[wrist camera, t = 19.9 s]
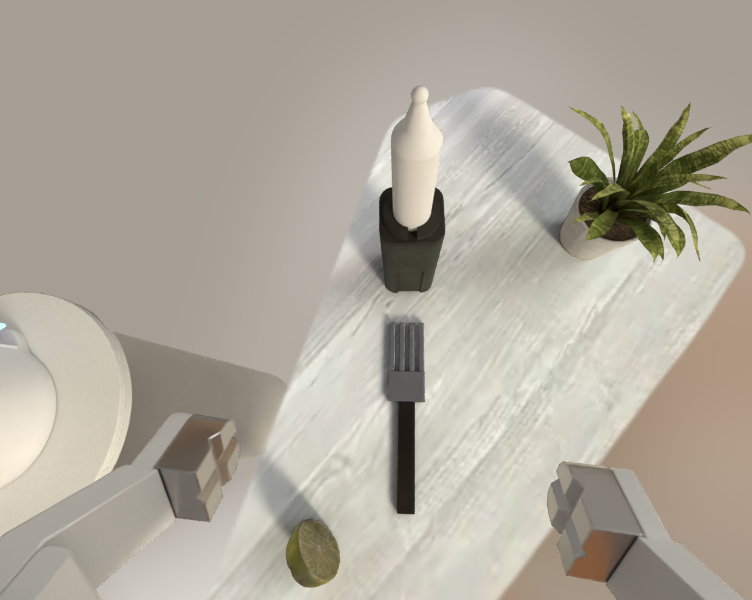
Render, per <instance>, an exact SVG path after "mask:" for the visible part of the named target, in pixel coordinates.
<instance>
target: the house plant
mask: <svg viewBox="0 0 752 600" xmlns="http://www.w3.org/2000/svg"><path fill="white" fill-rule="evenodd" d="M621 107H622V106H621ZM571 109H573V108H571ZM573 110H574V111H576V112H577V113H579V114H580V115H582V116H583V117H585V118H586V119H588V120H589V121H590V122H591V123H593V124H594V125H595V126H596V127H597V129H598V130H599V131H600V132H601V134H602V135H603V137H604V139H605V141H606V144H607V147H608V152H609V156H610V160H611V164H612V170H613V177H606V175H605V174H604V173H603V172H602V171H601V170H600V169H599V167H598V166H597V165H596V163H595V162H594V161H593V160H592V159H591V158H589V157H580V158H576V159H574V160H571V161H569V163H570V166H571V169H572V172H573V173H574V174H575V175H576V176H578V177H579V178H581V179H583V180H585V182H583V183H582V184H581V185H585V184H587V185H585V186H584V187H583V188H582V189H581V191H580V192H579V194H578V196H577V198H576V200H575V202H574V204H573V206H572V208H571V210H570V212H569V214H568V216H567V218H566V220H565V222H564V224H563V226H562V228H561V231H560V241H561V243H562V246H563V247H564V248H565V250H566V251H567V252H568V253H570V254H571V255H573V256H574V257H576V258H580V259H593V258H597V257H599V256H601V255H604V254H606V253H609V252H611V251H613V250H616V249H618V248H620V247H623V246H625V245H628V244H630V243H632V242H634V241H636V240H638V239H639V240H640V242H641V243H642V244H643V245H644V247H645V248H646V249H647V250H648V251H649V252H650V253H651V255H652V257H653V258H654V261H655V259H656V257H657V256H658V254H659V255H660V256H661V258H662V259H663V258H664V248H663V243H662V239H661V236H660V235H659V234H658V232H657V231H656V230H655V229H653V228H652V227H651V225H652V222H653V221H655V222H657V224H658V225H659V227H660V230H661V234H662V235H663V237H664V240H665V236H666V235H667V237H668V239H669V241H670V243H671V244H672V246H673V248H674V249H675V250H676V252H677V258H678V256H679V255H680V253H681V252H682V250H683V248H684V247H685V235H684V233H683V231H682V230H681V229H680V227H679V226H678V225H677V224H676V223H675V222H674V220H673V219H672V217H671V216H670V215H669V214H668V213H675V214H677V215H679V216H681V217H683V218H684V219H685V220H686V221H687V222H688V224H689V225H690V229H691V233H692V237H693V241H694V245H695V249H696V252H697V255H698V258H699V260H700V257H699V250H698V236H697V232H696V229H695V226H694V223H693V221H692V220H691V218H690V216H689V215H688V214H687V213H686V212H685V211H684V210H683V209H682V208H681V207H679V206H678V205H677V204H684V205H690V206H705V205H718V206H722V207H726V208H729V209H733V210H740V211H745V212H748V210H747V209H746V208H744V207H743V206H742V205H740V204H739V203H737V202H736V201H734V200H732V199H729V198H726V197H724V196H720V195H717V194H710V193H701V192H693V191H675V192H670V193H666V194H663V193H665V192H668V191H671V190H673V189H676V188H679V187H681V186H683V185H685V184H687V183H688V182H692V183H694V184H697V185H700V186H702V187H705V186H703V185H701V184H699V183H697V182H695V181H711V180H717V179H722V178H724V177H720V176H712V175H705V174H691V173H694V172H696V171H698V170H701V169H703V168H706V167H708V166H711V165H713V164H715V163H718V162H719V161H721V160H722V159H723V158H725V157H726V156H727V155H728V154H730V153H731V152H732V151H734V150H735V149H737V148H739V147H742V146H744V145H746V144H749V143H751V142H752V134H751V135H744V136H737V137H734V138H731V139H728V140H724V141H721V142H718V143H715V144H713V145H710V146H708V147H706V148H703V149H701V150H698V151H696V152H693V153H690V154H687V155H685V156H683V157H680V158H678V159H676V160H674V161H672V160H673V158H674V157H675V156H676V155H677V154H678V153H679V152H680V151H681V150H682V149H683V148H684V147H685V146H686V145H688V144H689V143H690V142H692V141H693V140H694V139H696V138H697V137H699V136H700V135H701V134H702V133H703V132H704V131H706V130H707V129H708V128H706V129H703V130H701V131H699V132H696V133H694V134H692V135H690V136H688V137H687V138H685V139H684V140H682V141H681V142H679V143H678V144H677V145H675V144H676V142H677V141H678V139H679V138H680V136H681V134H682V132H683V129H684V127H685V125H686V123H687V120H688V116H689V110H690V104H689V105H688V107H687V108H686V109H685V110H684V111H683V113H682V115H681V117H680V119H679V120H678V121H677V122H676V123H675V124H674V125H673V126H672V127H671V129H670V130H669V131H668V133H667V135H666V136H665V138H664V140H663V142H662V143H661V144H660V145H659V147H658V148H657V149H656V151H655V152H654V153H653V154H652V155H651V156H650V157H649V158H648V159H647V161H646V162H645V163H644V165H643V166H642V167H641V168H640V169H639V171H638V172H637V170H638V168H639V166H640V163H641V161H642V158H643V156H644V154H645V151H646V149H647V146H648V143H649V136H648V133H647V132H646V130H645V129H644V128H643V126H642V123H641V121H640V119H639V118H638V116H637V115H636V114H635V113H634V112H633V114H634V116H635V118H636V121H637V123H638V127H639V130H636V131H634V127H633V122H632V118H631V116H630V114H629V113H628V112H627V111H626V110H625V109H624V108H623V107H622V118H623V122H624V124H623V131H622V134H623V155H622V160H621V165H620V170H619V174H618V178H616V177H615V164H614V158H613V152H612V147H611V142H610V138H609V135H608V132H607V131H606V129H605V127H604V125H603V124H602V123H601V122H600V121H599V120H597V119H596V118H594V117H592V116H590V115H589V114H587V113H585V112H583V111H581V110H577V109H573ZM670 161H672V162H671V163H670V164H668V163H669V162H670ZM667 164H668V165H667ZM665 165H667V166H666V167H664V166H665ZM663 167H664V168H663ZM661 168H663V169H662V170H661V171H659V170H660V169H661ZM636 172H637V173H636ZM581 185H579V186H581ZM706 188H707V187H706ZM748 213H749V212H748Z"/></svg>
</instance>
